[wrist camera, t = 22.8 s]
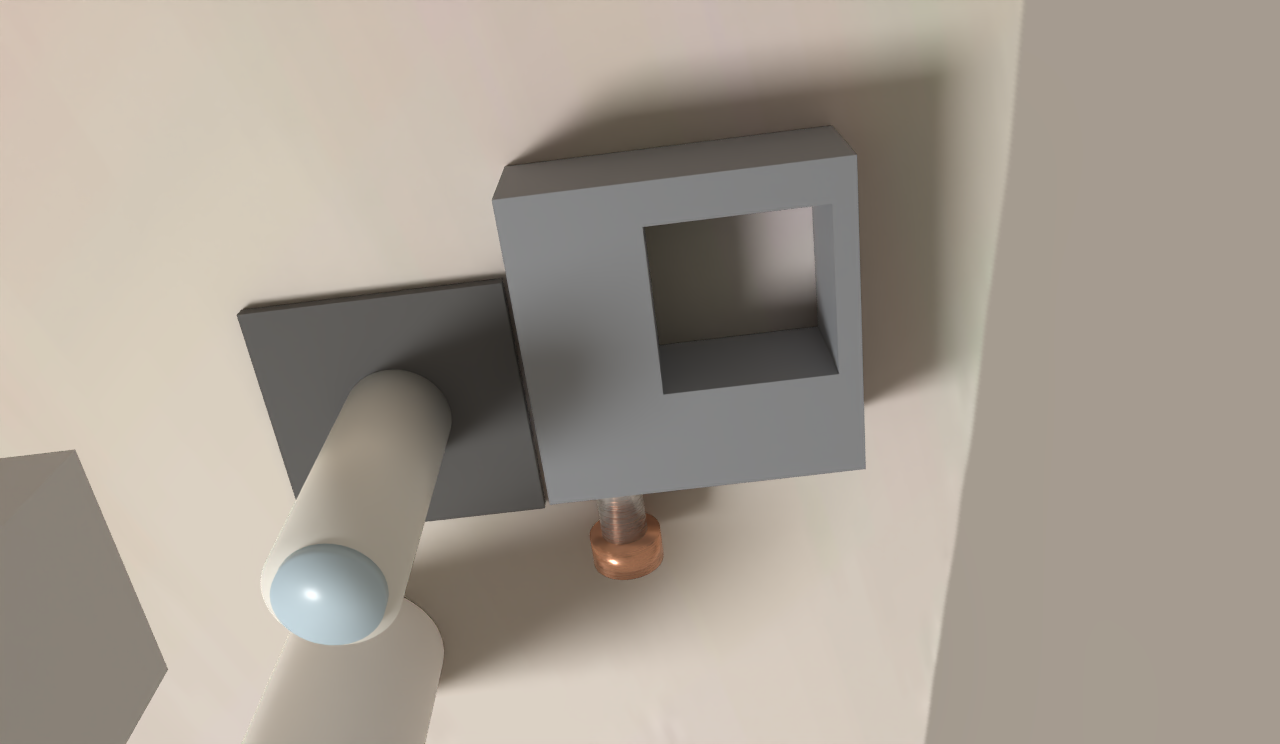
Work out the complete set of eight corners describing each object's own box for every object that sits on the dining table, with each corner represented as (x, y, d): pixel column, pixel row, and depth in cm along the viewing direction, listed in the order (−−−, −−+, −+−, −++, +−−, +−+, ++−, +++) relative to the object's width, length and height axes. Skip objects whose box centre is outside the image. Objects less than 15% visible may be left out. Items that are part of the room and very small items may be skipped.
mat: (241, 310, 46) (236, 315, 46) (502, 278, 46) (501, 283, 45) (310, 528, 52) (307, 535, 51) (545, 501, 51) (544, 508, 51)
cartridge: (324, 426, 48) (229, 613, 36) (380, 349, 47) (300, 517, 34) (415, 480, 50) (353, 677, 37) (472, 407, 48) (426, 588, 36)
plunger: (563, 355, 47) (559, 389, 44) (636, 346, 47) (638, 379, 44) (595, 541, 51) (593, 583, 48) (662, 533, 51) (664, 575, 48)
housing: (504, 166, 44) (491, 200, 39) (832, 125, 43) (856, 154, 39) (556, 447, 50) (549, 504, 45) (843, 414, 49) (865, 468, 45)
